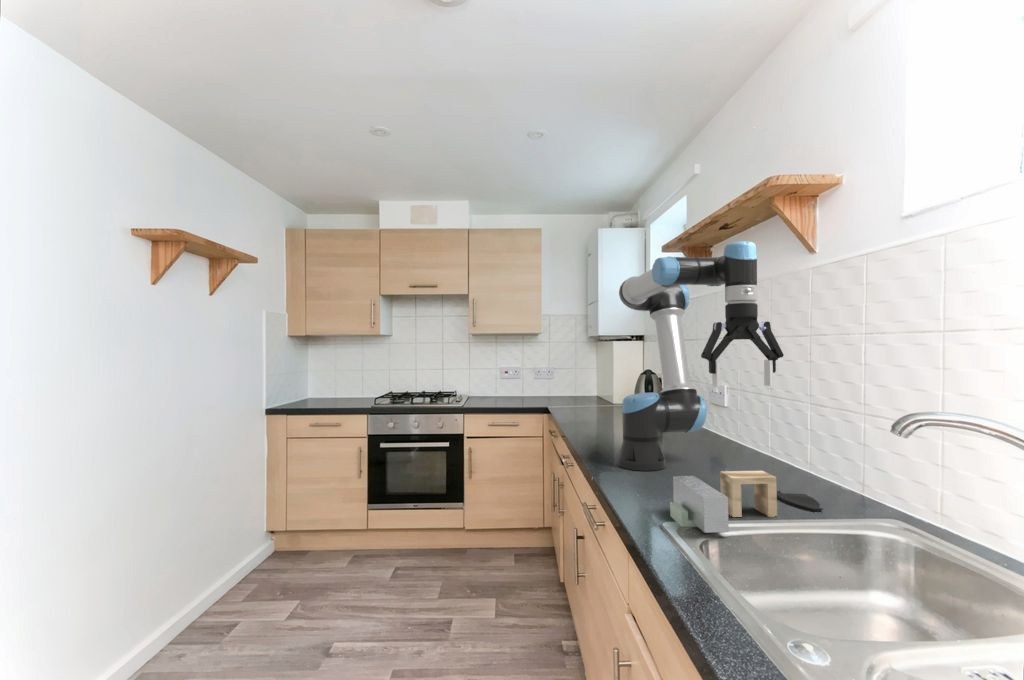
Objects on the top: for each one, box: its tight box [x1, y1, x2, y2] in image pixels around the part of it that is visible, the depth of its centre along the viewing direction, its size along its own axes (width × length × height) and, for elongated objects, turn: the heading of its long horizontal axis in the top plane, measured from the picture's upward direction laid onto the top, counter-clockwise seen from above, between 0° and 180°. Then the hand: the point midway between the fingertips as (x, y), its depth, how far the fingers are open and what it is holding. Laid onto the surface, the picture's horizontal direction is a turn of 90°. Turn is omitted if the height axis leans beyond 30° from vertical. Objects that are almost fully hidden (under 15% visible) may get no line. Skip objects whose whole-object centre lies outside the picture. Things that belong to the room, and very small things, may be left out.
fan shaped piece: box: [777, 490, 824, 513], centre depth 122 cm, size 8×14×2 cm, turn 172°
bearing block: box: [719, 470, 778, 518], centre depth 116 cm, size 6×10×9 cm, turn 92°
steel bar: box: [672, 475, 730, 534], centre depth 110 cm, size 17×5×7 cm, turn 3°
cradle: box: [669, 501, 699, 528], centre depth 111 cm, size 7×9×3 cm
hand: (742, 386), depth 127 cm, fingers open, 13 cm apart
